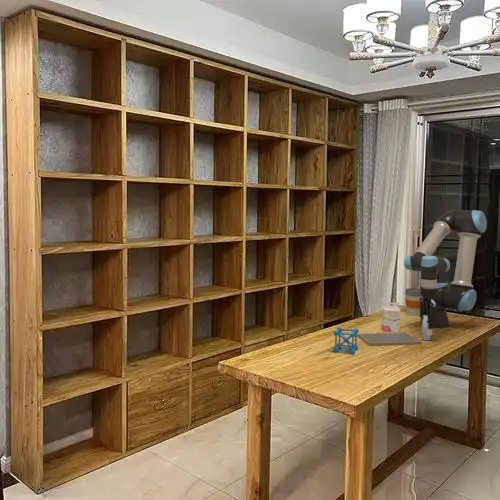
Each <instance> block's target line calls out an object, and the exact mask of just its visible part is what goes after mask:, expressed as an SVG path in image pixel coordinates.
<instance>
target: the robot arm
mask: <svg viewBox="0 0 500 500" xmlns="http://www.w3.org/2000/svg"><path fill="white" fill-rule="evenodd" d="M487 224H488V221H487V217H486V214H485V213H484V212H483V211H482V210H475V209H470V210H469V209H468V210H467V209H454V210H450V211H449V210H448V211H447V212H445V213H444V214H442V215H440V217H439V218H438V219H437V220H436V221H435V222H434V224H433V228H432V229H431V231H429V233H428V235H427V236H426V237H425V238H424V239H423V242H422V243H421V244H420V245H419V246H418V248H417V250H416V251H415V252H414V253H413V254H412V255H407V256H405V258H404V261H403V266H404V268H405V269H406V270H407V271H408V270H409V271H413V272H420V289H421V290H420V294H421V295H422V296H423V298H420V316H419V317H420V325H422V326H421V334H423V315H427V318H428V321H426V322H427V327H426V335H431V336H433V328H448V327H449V326H450V319H449V317H448V314H447V309H451V310H457V311H465V312H469V311H471V310H472V309H473V308H474V306H475V304H476V301H477V292H476V290H475V289H474V285H473V284H472V277H473V271H474V264H475V256H476V250H477V243H478V239H479V238H481V235H482V234H483V233H485V232H486V231H487V227H488V225H487ZM451 232H457V236H459V244H458V249H457V256H456V265H455V272H454V278H453V281H452V282H450V284H448V283H445V282H438V275H440V274H444V273H447V272H448V271H449V270H450V268H451V262H450V260H449V259H447V258H445V257H437V256H434V255H433V254H434V252H435V251H436V249H437V248H438V247H439V245H440V244H441V243H442V242H443V239H445V237H446V236H448V235H449V234H451ZM448 285H449V286H448Z"/></svg>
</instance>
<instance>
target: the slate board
mask: <svg viewBox="0 0 500 500" xmlns="http://www.w3.org/2000/svg"><path fill="white" fill-rule="evenodd" d="M357 337H358V338H359V339H360V340H362V342H364V343H365V344H367V345H368V346H369V347H379V346H405V345H406V346H408V345H409V346H410V345H422V344H423V341H421V340H419V339H417V338H416V337H414V336H412V335H411V334H410V333H407V332H406V331H405V332H403V331H402V332H400V331H399V332H377V333H369V332H368V333H357Z"/></svg>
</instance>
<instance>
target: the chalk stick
mask: <svg viewBox="0 0 500 500" xmlns="http://www.w3.org/2000/svg"><path fill="white" fill-rule="evenodd" d="M426 321H428V318H427V315H423V333H422V340H423V341H432V335H426V327H427V322H426Z"/></svg>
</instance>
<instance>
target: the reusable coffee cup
mask: <svg viewBox="0 0 500 500" xmlns="http://www.w3.org/2000/svg"><path fill="white" fill-rule="evenodd" d="M420 290H421V288H417V287H415V288H413V287H412V288H411V287H410V288H409V287H408V288H406V289H405V291H404V294H405V299H404V301H405V307H406V312H407V313H406V314H407V315H409V316H412V317H420V298H423V296H422V295H421V294H420Z"/></svg>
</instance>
